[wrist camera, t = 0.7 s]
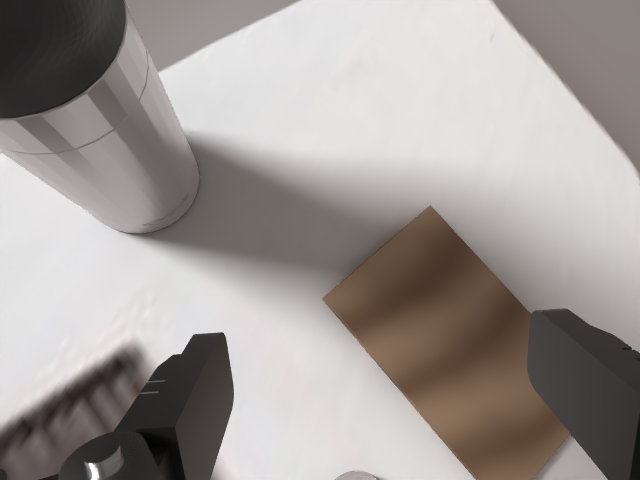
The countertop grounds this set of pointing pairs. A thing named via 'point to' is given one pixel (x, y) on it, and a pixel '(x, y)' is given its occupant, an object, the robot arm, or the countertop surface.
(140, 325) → the countertop surface
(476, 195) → the countertop surface
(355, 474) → the pepper grinder
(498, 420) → the walnut board
